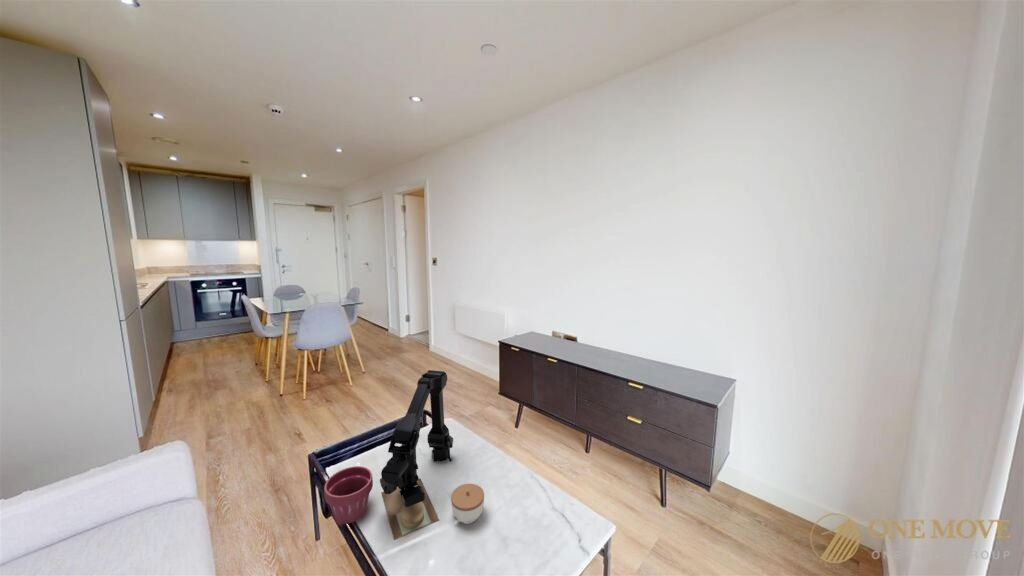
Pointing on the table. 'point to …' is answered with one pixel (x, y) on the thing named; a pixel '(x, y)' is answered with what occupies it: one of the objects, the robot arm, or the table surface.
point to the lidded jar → (467, 502)
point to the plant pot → (348, 493)
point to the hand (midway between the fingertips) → (409, 504)
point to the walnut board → (393, 510)
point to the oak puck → (412, 515)
